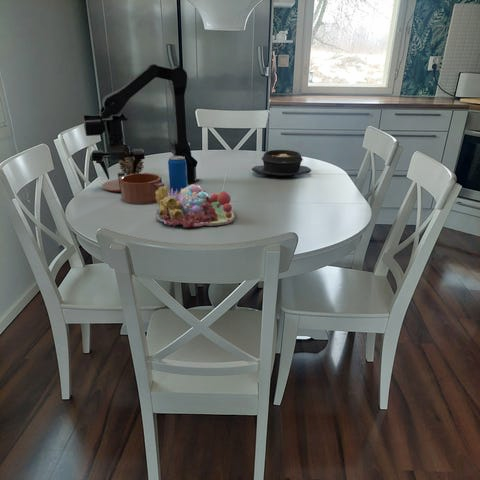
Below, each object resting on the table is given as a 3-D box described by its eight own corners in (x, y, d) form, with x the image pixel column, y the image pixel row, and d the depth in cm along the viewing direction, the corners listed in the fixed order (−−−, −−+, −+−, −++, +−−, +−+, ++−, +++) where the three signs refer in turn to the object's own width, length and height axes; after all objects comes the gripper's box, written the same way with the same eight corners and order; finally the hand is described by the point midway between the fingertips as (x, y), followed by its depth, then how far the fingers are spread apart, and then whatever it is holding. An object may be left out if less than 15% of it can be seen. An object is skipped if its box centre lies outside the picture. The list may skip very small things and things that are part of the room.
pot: (136, 189, 169) (134, 170, 166) (176, 197, 160) (175, 177, 157) (108, 198, 159) (105, 178, 156) (149, 208, 150) (147, 187, 147)
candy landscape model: (165, 233, 130) (163, 202, 125) (146, 210, 149) (143, 181, 144) (245, 222, 139) (245, 192, 134) (217, 201, 157) (216, 174, 152)
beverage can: (184, 194, 164) (182, 160, 158) (167, 193, 165) (165, 159, 159) (190, 189, 170) (188, 156, 163) (173, 188, 171) (171, 155, 164)
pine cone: (140, 181, 179) (137, 155, 174) (116, 181, 179) (113, 155, 174) (152, 168, 198) (150, 144, 192) (130, 168, 198) (128, 144, 193)
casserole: (252, 179, 182) (253, 158, 177) (250, 168, 198) (251, 148, 193) (314, 179, 183) (316, 158, 178) (307, 168, 198) (309, 148, 194)
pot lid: (132, 180, 181) (130, 166, 178) (150, 188, 170) (148, 174, 167) (96, 186, 173) (94, 171, 170) (112, 195, 163) (110, 180, 160)
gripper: (86, 139, 153) (94, 185, 161) (142, 137, 157) (147, 183, 165) (89, 133, 163) (96, 177, 171) (141, 132, 166) (146, 175, 174)
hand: (121, 178), depth 170 cm, fingers open, 9 cm apart
